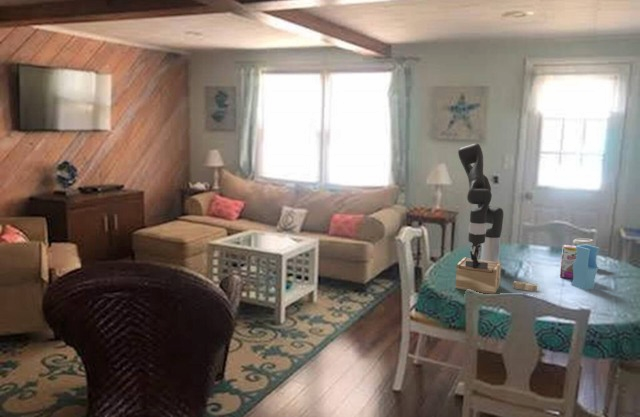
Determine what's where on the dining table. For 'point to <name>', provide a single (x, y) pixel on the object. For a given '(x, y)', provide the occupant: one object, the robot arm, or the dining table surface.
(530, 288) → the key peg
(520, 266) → the dining table surface
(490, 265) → the toolbox lid
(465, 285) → the toolbox
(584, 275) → the light-blue file holder
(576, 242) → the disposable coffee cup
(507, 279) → the dining table surface
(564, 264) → the candy bar box
